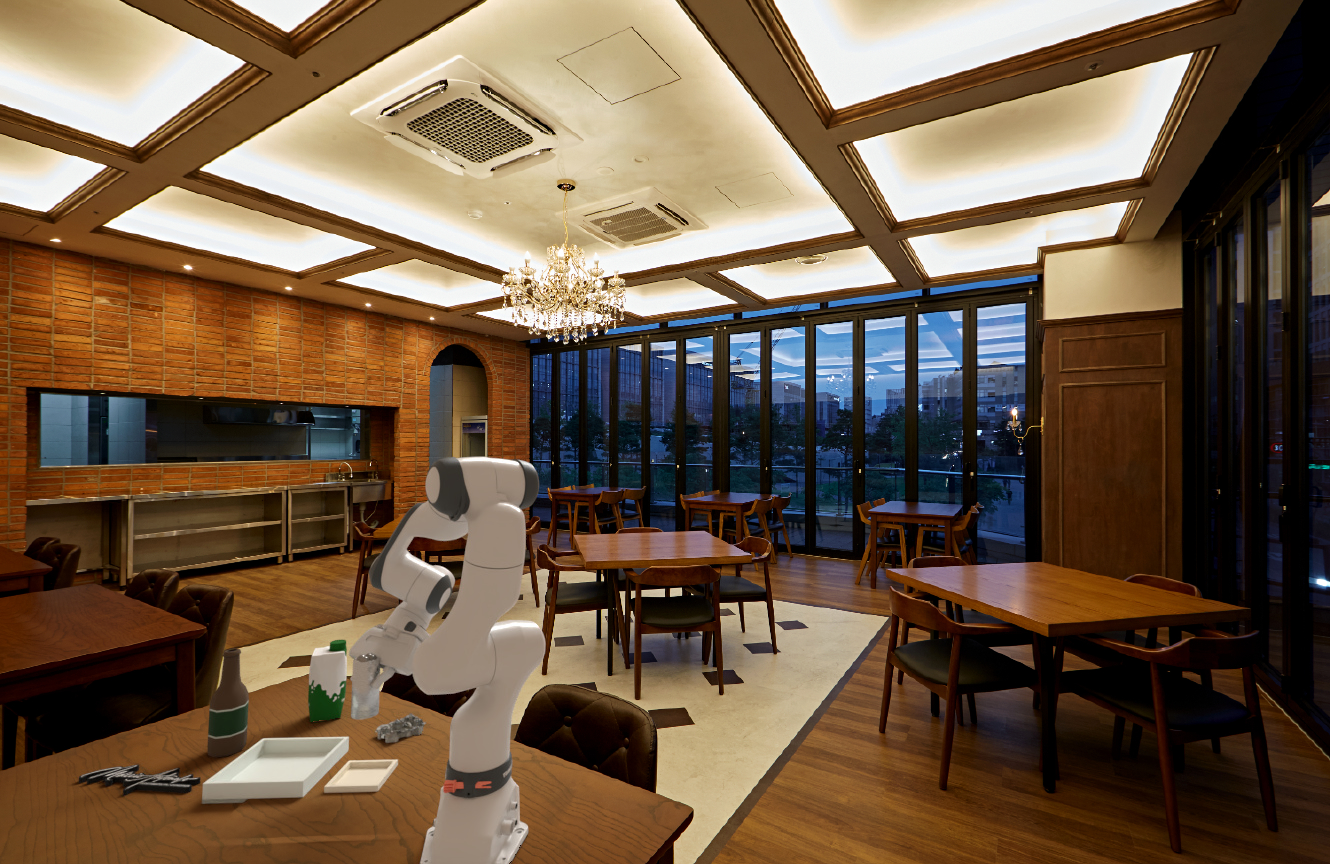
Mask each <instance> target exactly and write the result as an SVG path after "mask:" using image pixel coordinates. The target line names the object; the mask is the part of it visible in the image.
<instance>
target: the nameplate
mask: <svg viewBox="0 0 1330 864" xmlns="http://www.w3.org/2000/svg"><path fill="white" fill-rule="evenodd" d="M139 771H140V764H132V765H129V766H122V765H121V766H113V767H107V768H104V769H98V770H95V771H94V770H93V771H91V772H87V773H85V774H81V775H79V776H78V784H83V783H85V782H86V785H92V784H95V783H99V782H102V783H104V786H105V787H112V786H113V784H117V783H119V784H122V787H124V788H123V790H122V796H123V797H125V796H127V795H130V794H131V793H134V792H137V791H140V792H141V791H142V792H143V791H144V792H157V793H172V794H173V793H175V794H188V793H189V794H190V792H192V791H193V789H192V787H193V786H196V785H200V784H201V780H202V779H201V777H200V776H199V777H194V774H193V773H191V774H187V775H185V776H182V777H181V776H180V775H179V774H181V772H180V771H181V768H180V767H175V768H173V769H169V770H166V771H162V772H159V773H155V774H147V773H145V772H140V773H137V772H139Z"/></svg>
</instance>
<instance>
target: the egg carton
mask: <svg viewBox="0 0 1330 864" xmlns="http://www.w3.org/2000/svg"><path fill="white" fill-rule="evenodd" d="M425 724H427V721H424V720H423V719H422V718H419V717H418V716H417V715H414V714H413V713H412V712H410V713H409V714H407V715H406V716H404V717H400V719H398V718H396V719H395V720H393V721H391V722H388V723H386V724H380V725H379V726H377V727H376V729H375V733H377V740H384V739H385V741H384V743H386V744H389V743H397V742H399V739H402V738H409V737H413V736H412V735H414V736H421V735H422V734H423V732H424V727H425ZM422 731H423V732H422ZM420 734H421V735H420Z"/></svg>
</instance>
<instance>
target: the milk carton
mask: <svg viewBox="0 0 1330 864" xmlns="http://www.w3.org/2000/svg"><path fill="white" fill-rule="evenodd" d="M347 647H348V646H347V640H346V639H335V640H332V641H330V642H329V646H328V645H327V646H324V647H315V648H314V649H313V652H312V654H311V658H310V663H309V665H310V666H309V672H308V690H307V691H308V695H307V705H308V714H309V722H313V721H319V720H327V721H331V720H330V719H334V720H336V719H335V718H340V719H341V715H342V712H343V707H344V704H345V699H346V691H347V669H348V667H347V666H348V661H347V660H348V659H347V656H348V655H347V650H348V649H347Z"/></svg>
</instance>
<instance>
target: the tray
mask: <svg viewBox="0 0 1330 864" xmlns="http://www.w3.org/2000/svg"><path fill="white" fill-rule="evenodd" d="M398 766H399V759H363V760H361V759H360V760H358V759H357V760H355V759H353V760H348V761H347V762H346V763H345V764H344V765H343V766H342V767H341V769H339V770H338V772H337V773H336V774H335V775H334V776H333V777H332V778H331V779H330V780H329V781H328V782H327V783H326V784H325V785H324V787H323V793H324V794H333V793H335V794H336V793H370V792H371V793H372V792H373V793H374V792H375V793H376V792H379V791H380V789H381V788H382V787H383V785H384V784H385V783H386V781H387V780H388V779H389V777H390V776H391V775H392V774H393V772H394V771H395V770H396V768H397V767H398Z"/></svg>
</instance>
